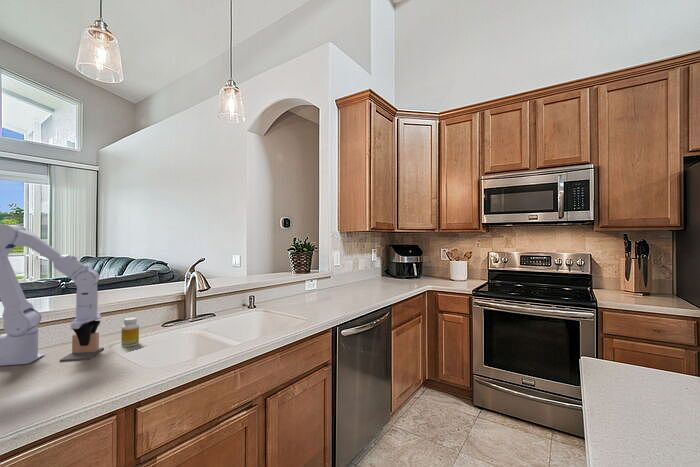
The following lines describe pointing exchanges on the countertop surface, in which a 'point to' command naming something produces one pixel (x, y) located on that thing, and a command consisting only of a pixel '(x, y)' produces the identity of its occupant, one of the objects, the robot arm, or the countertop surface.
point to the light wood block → (91, 347)
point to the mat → (80, 356)
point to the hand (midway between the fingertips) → (86, 344)
